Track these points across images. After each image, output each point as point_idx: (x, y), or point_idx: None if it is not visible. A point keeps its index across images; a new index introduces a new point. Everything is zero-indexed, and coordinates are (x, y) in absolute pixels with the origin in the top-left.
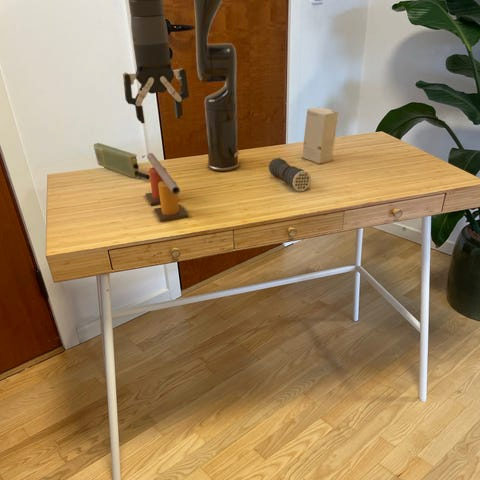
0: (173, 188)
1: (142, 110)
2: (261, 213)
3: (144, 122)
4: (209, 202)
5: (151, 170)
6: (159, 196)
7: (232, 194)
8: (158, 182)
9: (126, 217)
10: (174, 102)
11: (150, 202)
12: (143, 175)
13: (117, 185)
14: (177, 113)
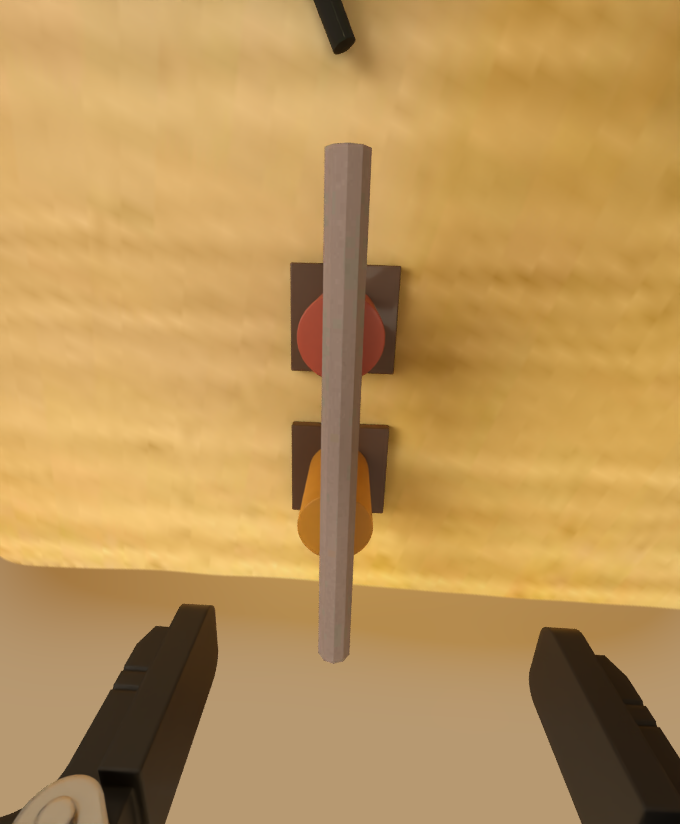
0: (325, 657)
1: (169, 793)
2: (593, 572)
3: (214, 670)
4: (495, 431)
5: (309, 341)
6: None
7: (607, 399)
8: None
9: (195, 426)
10: (623, 807)
11: (291, 367)
12: (324, 19)
13: (185, 37)
14: (551, 742)
